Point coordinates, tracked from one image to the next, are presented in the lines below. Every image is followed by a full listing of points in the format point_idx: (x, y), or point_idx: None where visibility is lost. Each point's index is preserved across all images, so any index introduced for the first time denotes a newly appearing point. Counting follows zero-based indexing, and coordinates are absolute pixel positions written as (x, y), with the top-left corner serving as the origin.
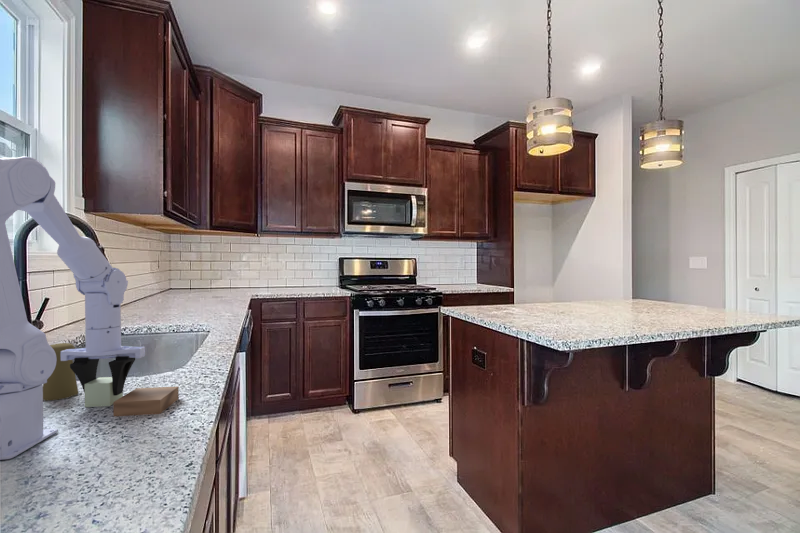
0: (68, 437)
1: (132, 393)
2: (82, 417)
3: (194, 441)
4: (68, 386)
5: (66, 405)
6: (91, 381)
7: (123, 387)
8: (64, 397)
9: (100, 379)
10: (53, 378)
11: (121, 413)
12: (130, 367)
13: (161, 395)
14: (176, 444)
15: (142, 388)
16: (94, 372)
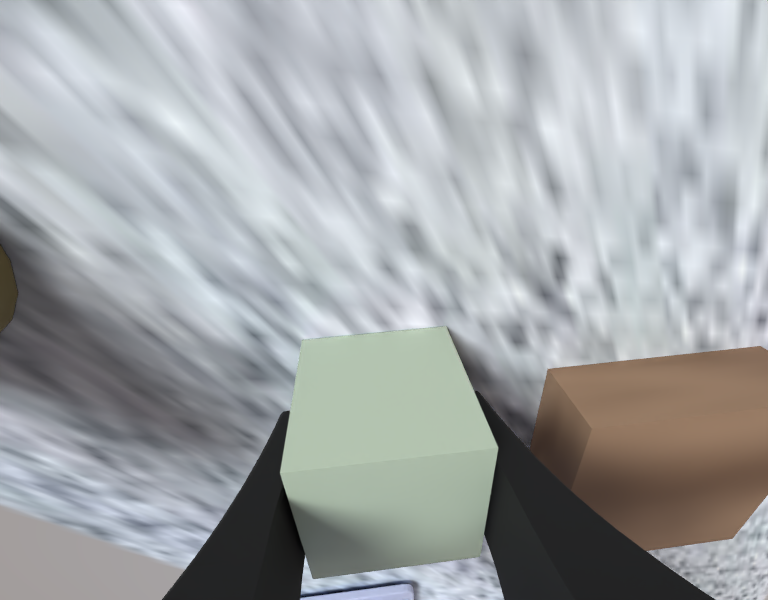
0: (461, 590)
1: (595, 495)
2: None
3: (761, 578)
4: None
5: (187, 418)
6: (310, 542)
7: (493, 410)
8: (5, 320)
9: (346, 510)
10: None
11: None
12: (637, 551)
13: (738, 504)
14: (724, 588)
15: (631, 431)
16: (272, 580)
